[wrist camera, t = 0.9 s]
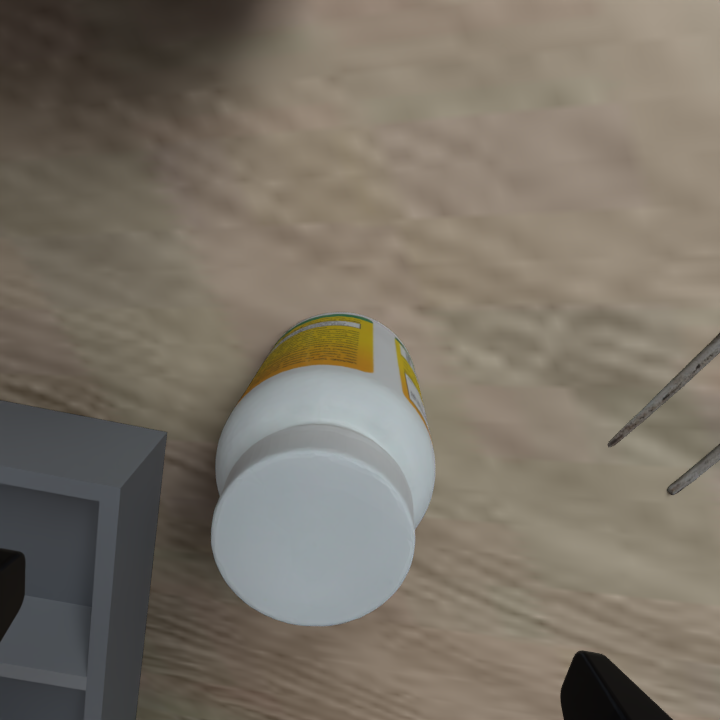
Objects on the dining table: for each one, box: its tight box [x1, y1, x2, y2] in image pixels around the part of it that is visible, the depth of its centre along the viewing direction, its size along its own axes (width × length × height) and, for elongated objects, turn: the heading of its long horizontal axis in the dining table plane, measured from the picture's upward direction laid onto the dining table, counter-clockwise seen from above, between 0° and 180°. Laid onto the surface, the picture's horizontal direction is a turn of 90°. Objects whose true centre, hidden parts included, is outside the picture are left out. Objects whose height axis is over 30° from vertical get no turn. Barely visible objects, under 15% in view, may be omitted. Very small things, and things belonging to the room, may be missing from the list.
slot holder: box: [0, 400, 167, 720], centre depth 22 cm, size 8×23×4 cm, turn 168°
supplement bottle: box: [211, 312, 435, 626], centre depth 15 cm, size 5×5×10 cm
